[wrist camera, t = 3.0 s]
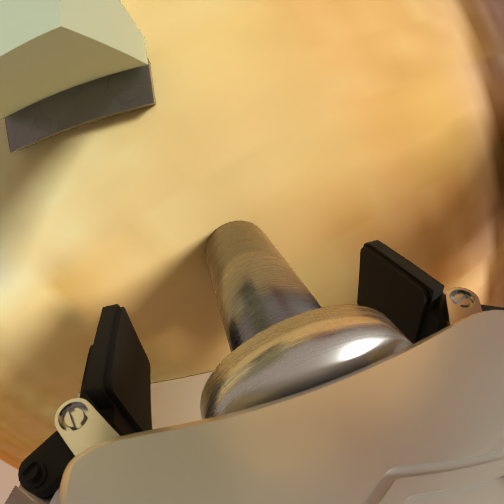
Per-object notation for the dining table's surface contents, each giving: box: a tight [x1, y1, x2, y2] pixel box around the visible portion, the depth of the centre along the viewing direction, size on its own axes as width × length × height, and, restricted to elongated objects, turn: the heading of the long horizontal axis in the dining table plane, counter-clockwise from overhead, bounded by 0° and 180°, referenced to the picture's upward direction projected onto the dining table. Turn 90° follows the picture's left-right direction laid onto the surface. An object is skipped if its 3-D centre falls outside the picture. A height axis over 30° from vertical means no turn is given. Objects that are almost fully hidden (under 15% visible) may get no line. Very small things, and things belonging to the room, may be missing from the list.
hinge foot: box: [5, 58, 156, 152], centre depth 10 cm, size 7×2×1 cm, turn 98°
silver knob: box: [200, 221, 413, 419], centre depth 10 cm, size 6×6×10 cm
